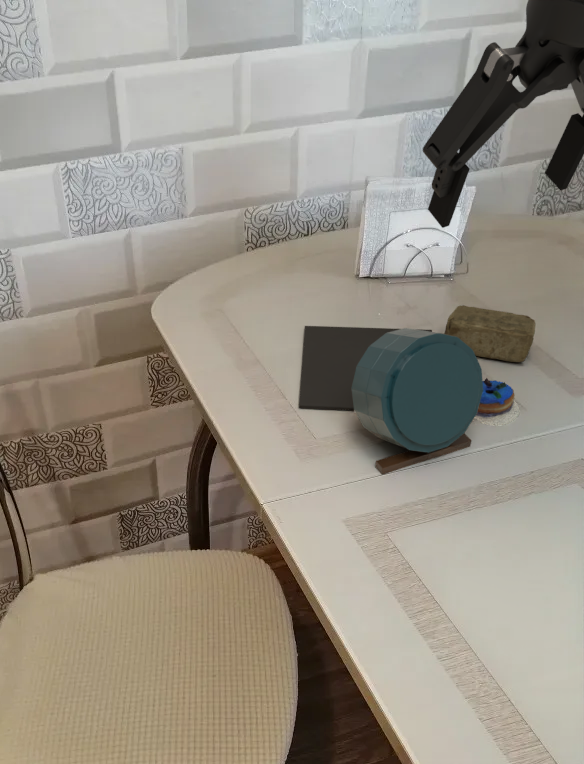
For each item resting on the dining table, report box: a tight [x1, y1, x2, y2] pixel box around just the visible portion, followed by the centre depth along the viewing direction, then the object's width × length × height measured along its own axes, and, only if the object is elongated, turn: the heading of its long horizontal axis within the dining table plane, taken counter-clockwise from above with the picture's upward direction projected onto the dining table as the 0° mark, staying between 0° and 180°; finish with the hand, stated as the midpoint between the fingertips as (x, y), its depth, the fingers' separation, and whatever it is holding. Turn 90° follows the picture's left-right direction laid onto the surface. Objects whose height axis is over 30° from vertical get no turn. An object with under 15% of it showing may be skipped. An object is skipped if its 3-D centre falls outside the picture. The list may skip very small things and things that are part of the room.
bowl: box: [352, 327, 483, 453], centre depth 90 cm, size 13×13×7 cm
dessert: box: [472, 377, 520, 427], centre depth 98 cm, size 8×7×6 cm
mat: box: [298, 325, 433, 412], centre depth 107 cm, size 18×20×1 cm
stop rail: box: [374, 433, 473, 476], centre depth 92 cm, size 12×2×2 cm, turn 113°
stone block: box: [443, 304, 537, 363], centre depth 108 cm, size 6×12×5 cm, turn 68°
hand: (497, 199), depth 78 cm, fingers open, 13 cm apart
